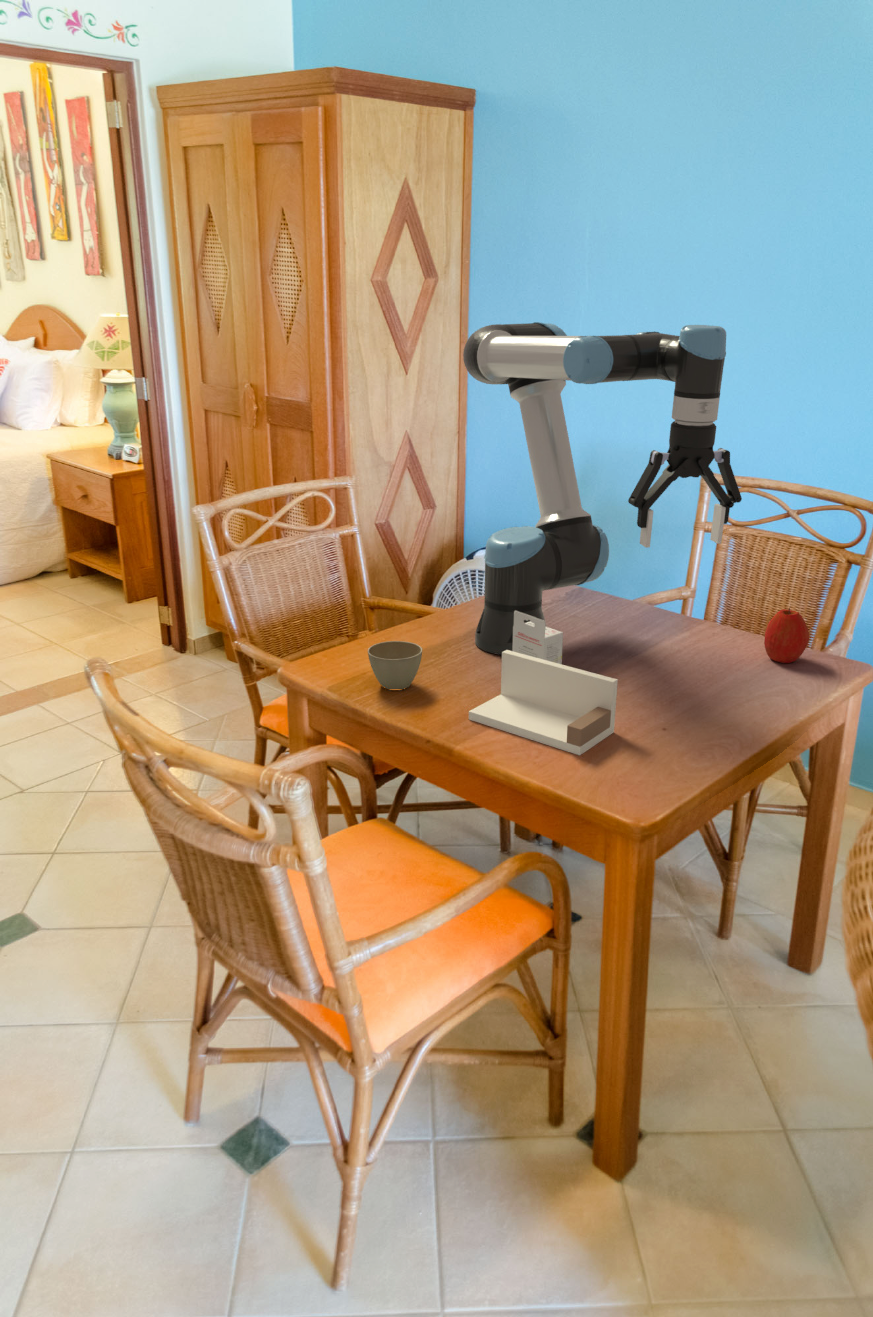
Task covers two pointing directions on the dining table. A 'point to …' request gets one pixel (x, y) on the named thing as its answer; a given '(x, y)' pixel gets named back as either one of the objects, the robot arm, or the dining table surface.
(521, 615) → the ink box
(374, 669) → the flower pot
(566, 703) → the shelf
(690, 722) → the dining table surface
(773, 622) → the apple
